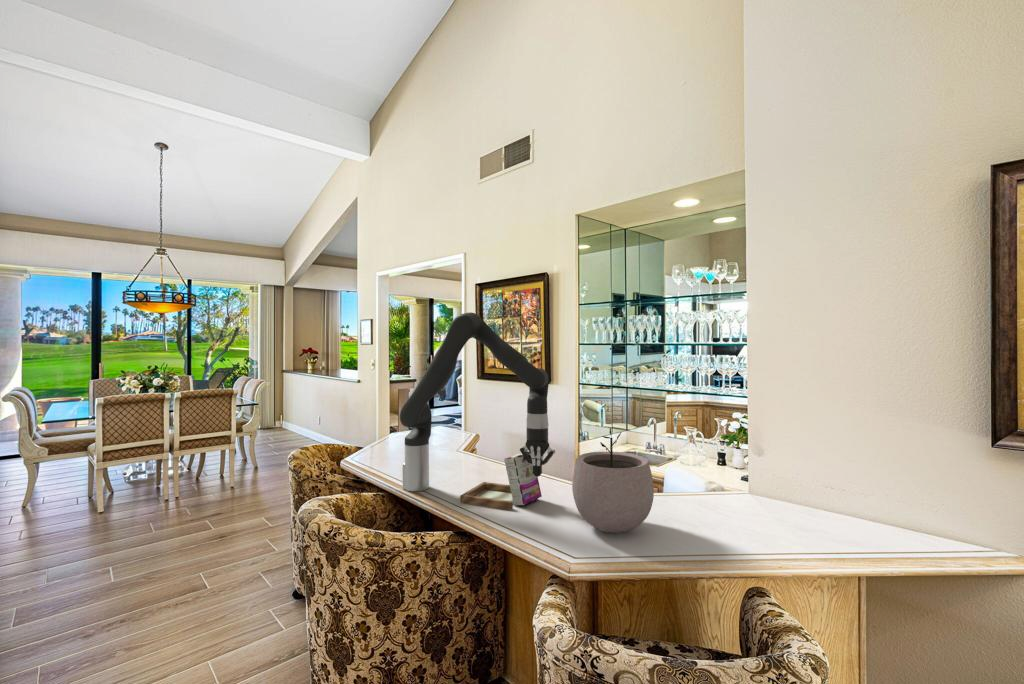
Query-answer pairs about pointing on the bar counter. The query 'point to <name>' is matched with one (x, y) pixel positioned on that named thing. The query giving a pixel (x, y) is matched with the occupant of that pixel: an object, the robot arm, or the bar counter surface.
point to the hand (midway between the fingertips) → (537, 475)
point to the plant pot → (613, 489)
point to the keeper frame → (489, 496)
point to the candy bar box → (522, 480)
